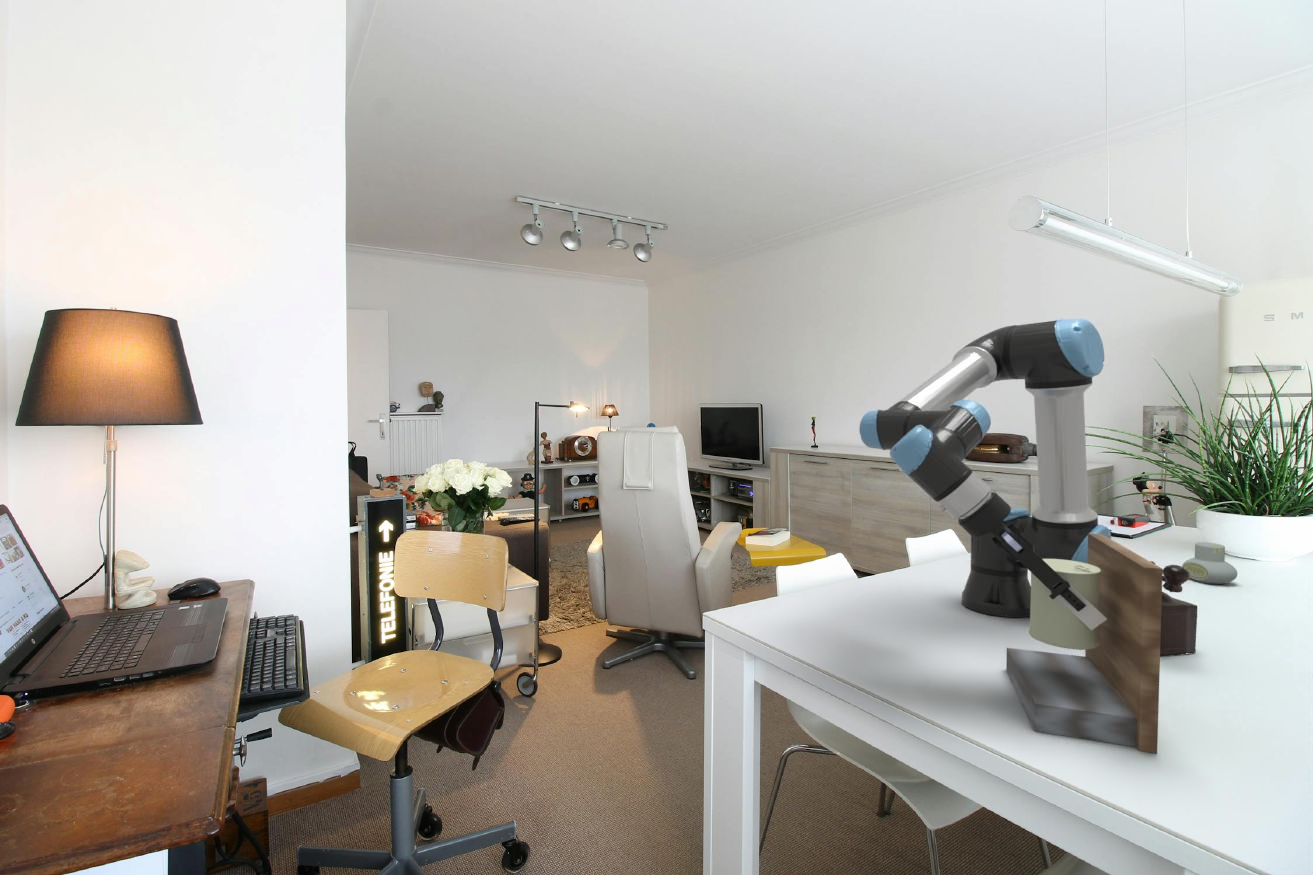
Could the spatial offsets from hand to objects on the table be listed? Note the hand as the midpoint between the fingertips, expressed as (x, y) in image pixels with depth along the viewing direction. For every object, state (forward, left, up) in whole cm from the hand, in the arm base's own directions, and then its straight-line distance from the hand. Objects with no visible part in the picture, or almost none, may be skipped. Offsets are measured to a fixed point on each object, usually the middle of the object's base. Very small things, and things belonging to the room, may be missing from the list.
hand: (1088, 613), depth 94 cm
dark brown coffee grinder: (-33, -17, -15) cm, 40 cm away
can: (+3, -2, -4) cm, 6 cm away
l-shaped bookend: (+2, -1, -15) cm, 15 cm away
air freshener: (-91, -54, -15) cm, 107 cm away
